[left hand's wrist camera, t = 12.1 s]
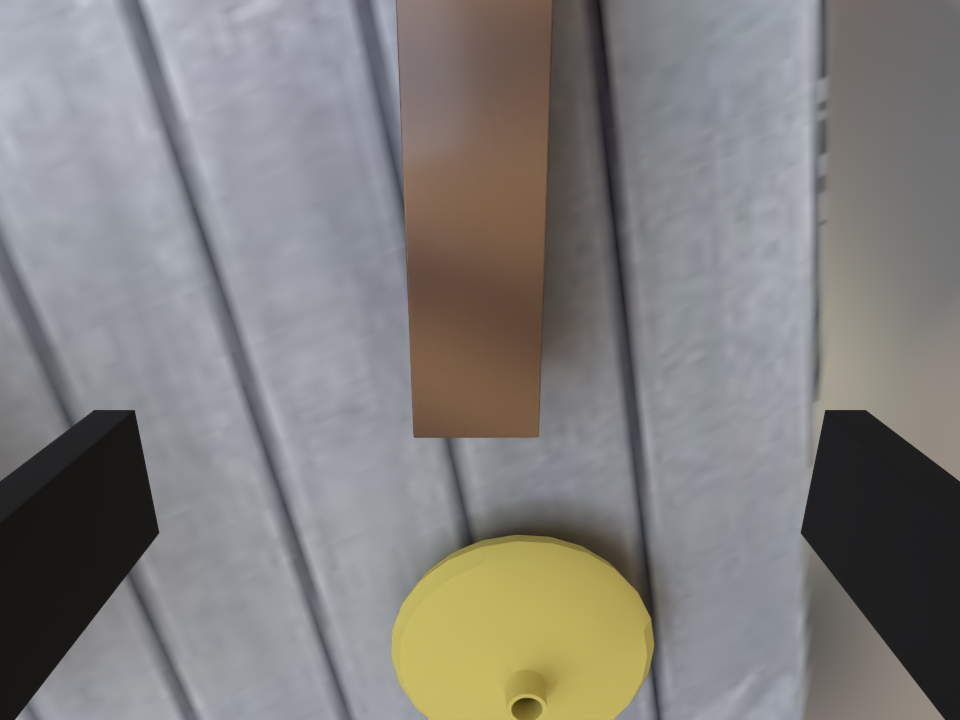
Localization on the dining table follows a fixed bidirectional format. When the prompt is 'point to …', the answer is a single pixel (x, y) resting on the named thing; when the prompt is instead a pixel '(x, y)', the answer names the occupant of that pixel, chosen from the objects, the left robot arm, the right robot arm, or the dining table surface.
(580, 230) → the dining table surface
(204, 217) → the dining table surface
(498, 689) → the yellow round disc
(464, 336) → the post
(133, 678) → the dining table surface
